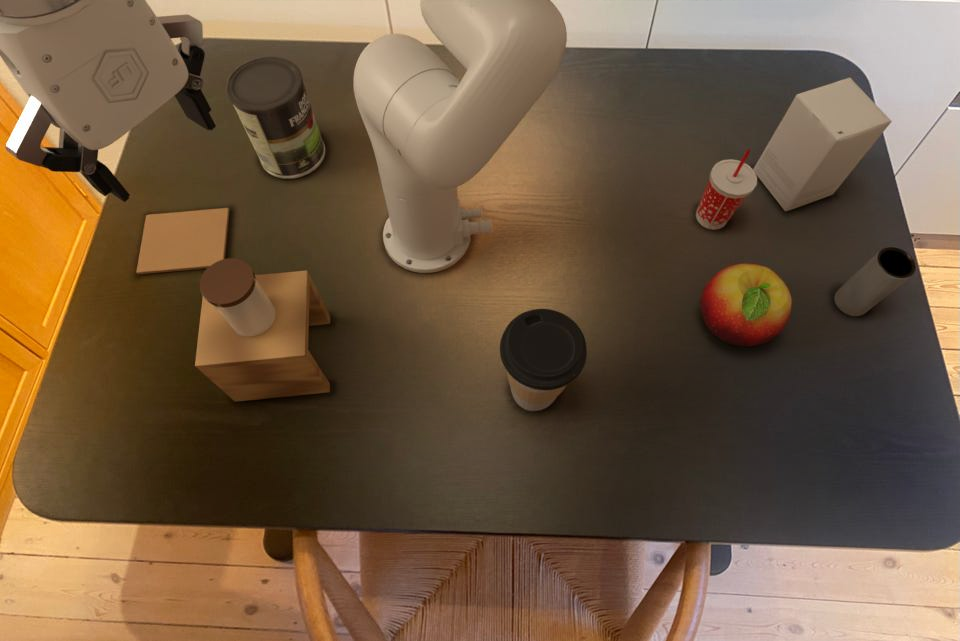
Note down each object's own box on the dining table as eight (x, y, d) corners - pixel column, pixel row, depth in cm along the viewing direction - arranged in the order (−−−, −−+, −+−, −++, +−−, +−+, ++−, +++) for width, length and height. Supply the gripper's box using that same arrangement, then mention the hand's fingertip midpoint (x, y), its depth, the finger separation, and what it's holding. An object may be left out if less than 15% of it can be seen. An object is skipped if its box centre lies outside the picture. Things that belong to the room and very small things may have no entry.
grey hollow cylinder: (872, 298, 83) (921, 257, 74) (861, 322, 81) (910, 284, 72) (840, 282, 84) (884, 240, 75) (828, 306, 82) (872, 266, 73)
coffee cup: (527, 342, 80) (536, 286, 67) (585, 385, 77) (607, 335, 64) (482, 395, 77) (482, 347, 64) (541, 441, 74) (554, 401, 61)
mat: (229, 209, 90) (228, 207, 90) (224, 266, 86) (222, 264, 85) (148, 217, 90) (146, 214, 89) (138, 274, 85) (136, 272, 85)
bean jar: (278, 293, 70) (254, 255, 63) (276, 335, 68) (251, 301, 60) (231, 297, 70) (202, 260, 63) (227, 339, 67) (196, 306, 60)
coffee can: (334, 134, 97) (312, 60, 84) (313, 184, 92) (286, 114, 80) (273, 124, 98) (242, 50, 85) (249, 173, 93) (213, 103, 81)
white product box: (835, 195, 91) (896, 121, 77) (784, 213, 89) (837, 141, 76) (799, 152, 95) (851, 74, 81) (750, 169, 93) (795, 92, 80)
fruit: (783, 307, 82) (820, 269, 73) (756, 371, 78) (792, 339, 69) (708, 273, 85) (735, 232, 76) (679, 333, 81) (703, 297, 72)
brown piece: (330, 316, 82) (307, 270, 71) (329, 392, 77) (305, 355, 66) (241, 324, 82) (204, 279, 71) (234, 401, 77) (194, 366, 66)
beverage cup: (737, 208, 90) (778, 141, 77) (726, 239, 87) (767, 175, 75) (696, 194, 91) (731, 126, 78) (685, 225, 89) (718, 159, 76)
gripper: (-60, 70, 33) (109, 244, 49) (178, -82, 40) (262, 115, 55) (-135, 17, 35) (50, 201, 51) (103, -119, 42) (204, 81, 57)
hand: (160, 156), depth 53 cm, fingers open, 9 cm apart
